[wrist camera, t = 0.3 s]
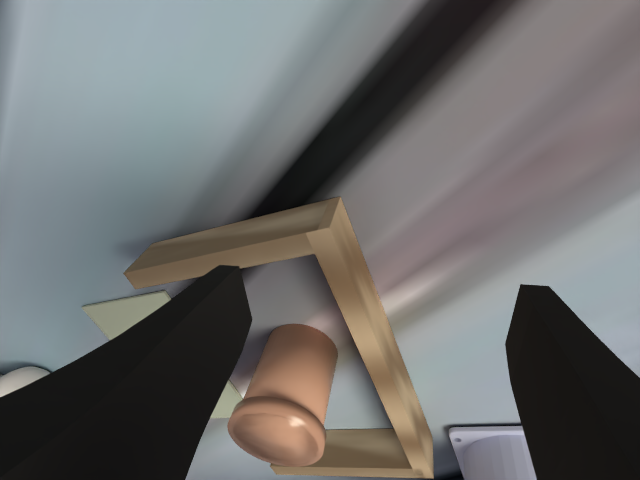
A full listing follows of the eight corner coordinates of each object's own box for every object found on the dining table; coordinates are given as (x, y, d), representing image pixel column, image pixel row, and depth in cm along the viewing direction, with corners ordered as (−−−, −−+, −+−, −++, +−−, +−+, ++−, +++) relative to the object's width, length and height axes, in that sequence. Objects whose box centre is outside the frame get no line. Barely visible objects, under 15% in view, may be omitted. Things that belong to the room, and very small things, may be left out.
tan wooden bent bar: (432, 437, 30) (433, 478, 27) (286, 438, 34) (276, 474, 32) (340, 196, 20) (329, 227, 17) (152, 243, 24) (123, 273, 22)
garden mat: (253, 414, 33) (253, 416, 33) (179, 417, 36) (178, 419, 36) (164, 290, 27) (163, 292, 26) (83, 305, 30) (81, 307, 29)
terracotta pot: (353, 373, 28) (337, 467, 22) (283, 378, 30) (253, 466, 24) (325, 315, 25) (300, 407, 20) (250, 325, 27) (210, 411, 22)
